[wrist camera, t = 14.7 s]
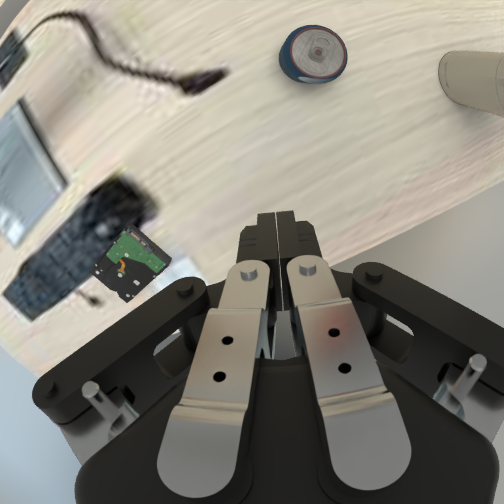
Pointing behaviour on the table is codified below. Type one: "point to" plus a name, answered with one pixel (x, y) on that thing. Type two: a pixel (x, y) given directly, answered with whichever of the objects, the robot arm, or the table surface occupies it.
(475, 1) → the table surface
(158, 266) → the disk drive
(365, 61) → the table surface
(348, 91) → the table surface
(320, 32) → the soda can
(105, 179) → the table surface
